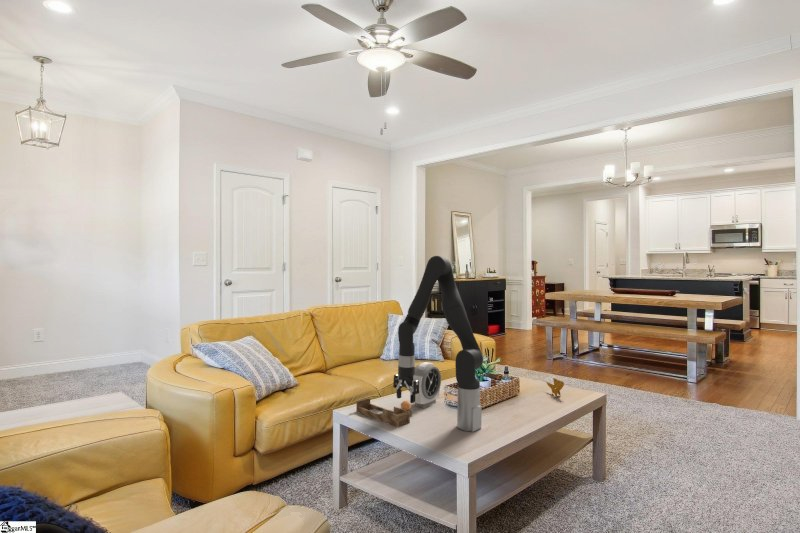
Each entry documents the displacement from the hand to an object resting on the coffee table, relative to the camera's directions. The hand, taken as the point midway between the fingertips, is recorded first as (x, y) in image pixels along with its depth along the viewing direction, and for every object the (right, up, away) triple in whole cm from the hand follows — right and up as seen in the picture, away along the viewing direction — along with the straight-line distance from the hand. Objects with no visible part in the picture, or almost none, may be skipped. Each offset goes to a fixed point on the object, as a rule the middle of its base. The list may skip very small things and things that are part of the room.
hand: (405, 400), depth 202 cm
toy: (+79, -7, +34) cm, 86 cm away
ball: (0, -2, -1) cm, 2 cm away
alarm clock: (+10, -7, +16) cm, 20 cm away
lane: (-11, -7, -3) cm, 13 cm away
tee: (0, -7, -1) cm, 7 cm away
